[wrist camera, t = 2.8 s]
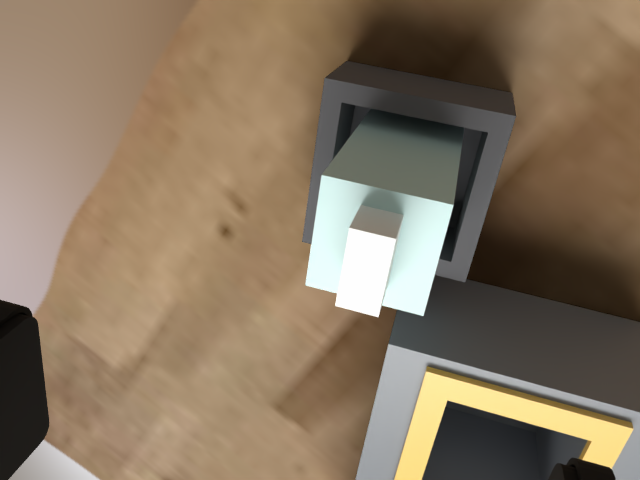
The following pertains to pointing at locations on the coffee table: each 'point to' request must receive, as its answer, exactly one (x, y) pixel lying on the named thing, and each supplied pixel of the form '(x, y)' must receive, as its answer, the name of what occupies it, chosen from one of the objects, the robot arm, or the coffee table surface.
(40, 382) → the robot arm
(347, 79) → the holster
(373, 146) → the plug
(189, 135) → the coffee table surface
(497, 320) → the port panel
